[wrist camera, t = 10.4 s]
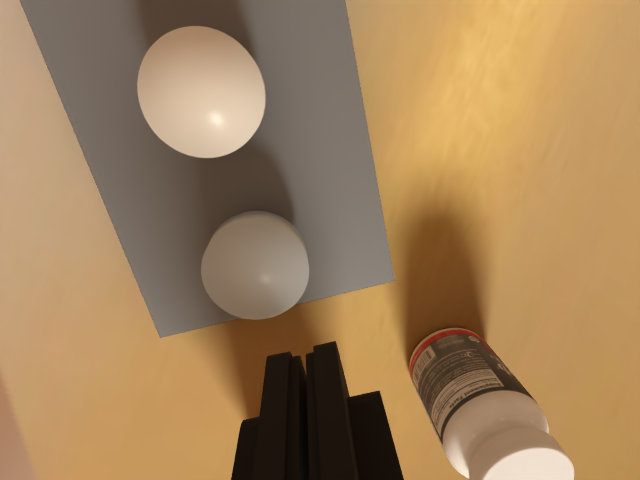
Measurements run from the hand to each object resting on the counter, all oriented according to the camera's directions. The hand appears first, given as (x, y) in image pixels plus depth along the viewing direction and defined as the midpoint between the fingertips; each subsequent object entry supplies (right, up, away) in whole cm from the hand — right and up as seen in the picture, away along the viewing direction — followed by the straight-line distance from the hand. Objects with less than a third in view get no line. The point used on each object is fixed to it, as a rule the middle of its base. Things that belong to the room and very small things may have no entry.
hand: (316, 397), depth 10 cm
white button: (-5, +10, +8) cm, 14 cm away
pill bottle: (+9, -4, +19) cm, 21 cm away
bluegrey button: (-3, +3, +11) cm, 12 cm away
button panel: (-5, +11, +12) cm, 17 cm away
